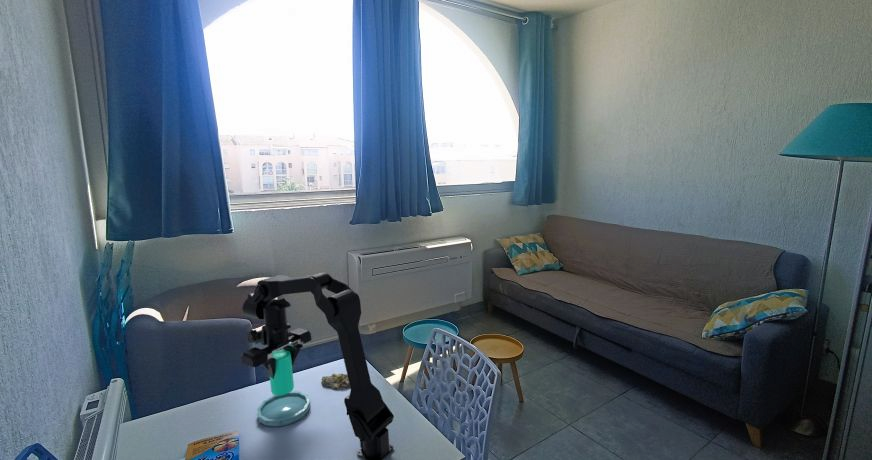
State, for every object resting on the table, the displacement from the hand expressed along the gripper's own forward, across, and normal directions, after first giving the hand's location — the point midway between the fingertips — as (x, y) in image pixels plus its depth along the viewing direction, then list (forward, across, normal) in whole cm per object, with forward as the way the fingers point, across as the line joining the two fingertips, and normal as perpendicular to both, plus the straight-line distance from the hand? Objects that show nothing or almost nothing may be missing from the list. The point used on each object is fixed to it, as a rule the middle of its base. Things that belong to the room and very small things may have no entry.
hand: (281, 374), depth 111 cm
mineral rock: (+12, -18, +2) cm, 22 cm away
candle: (+5, 0, 0) cm, 5 cm away
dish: (+11, 0, 0) cm, 11 cm away
